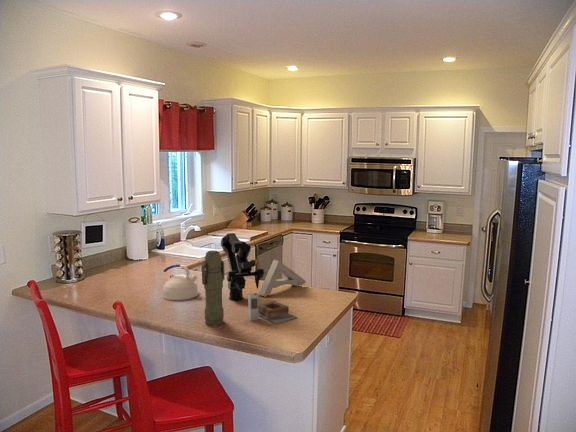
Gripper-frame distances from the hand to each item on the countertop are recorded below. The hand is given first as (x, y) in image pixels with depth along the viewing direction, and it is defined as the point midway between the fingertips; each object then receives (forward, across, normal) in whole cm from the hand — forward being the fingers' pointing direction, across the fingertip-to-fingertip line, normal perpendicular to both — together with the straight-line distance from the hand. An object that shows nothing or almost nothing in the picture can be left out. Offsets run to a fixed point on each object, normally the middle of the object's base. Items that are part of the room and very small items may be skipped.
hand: (249, 289), depth 228 cm
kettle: (-22, -28, +41) cm, 54 cm away
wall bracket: (-14, +31, +33) cm, 47 cm away
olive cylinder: (+13, -19, +6) cm, 24 cm away
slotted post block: (+13, +11, +5) cm, 18 cm away
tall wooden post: (+14, 0, +4) cm, 15 cm away
